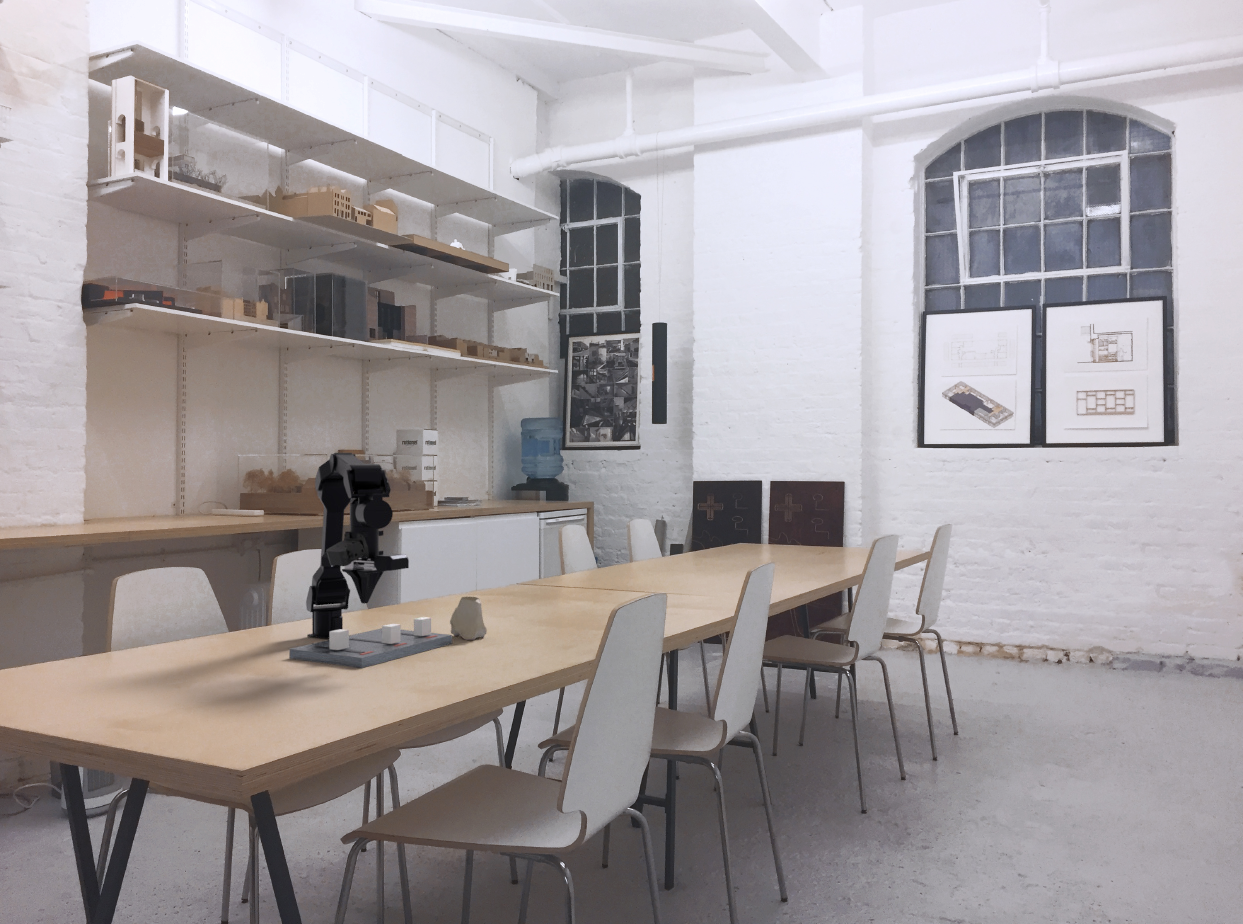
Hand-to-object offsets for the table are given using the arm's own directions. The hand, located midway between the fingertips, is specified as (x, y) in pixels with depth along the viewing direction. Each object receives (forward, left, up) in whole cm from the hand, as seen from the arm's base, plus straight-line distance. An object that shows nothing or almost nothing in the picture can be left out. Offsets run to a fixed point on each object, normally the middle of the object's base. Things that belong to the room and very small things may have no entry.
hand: (364, 603), depth 187 cm
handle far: (-2, +20, -10) cm, 22 cm away
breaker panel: (-7, +10, -12) cm, 17 cm away
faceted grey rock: (+1, +32, -12) cm, 34 cm away
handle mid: (-2, +10, -10) cm, 14 cm away
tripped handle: (-7, 0, -10) cm, 12 cm away
